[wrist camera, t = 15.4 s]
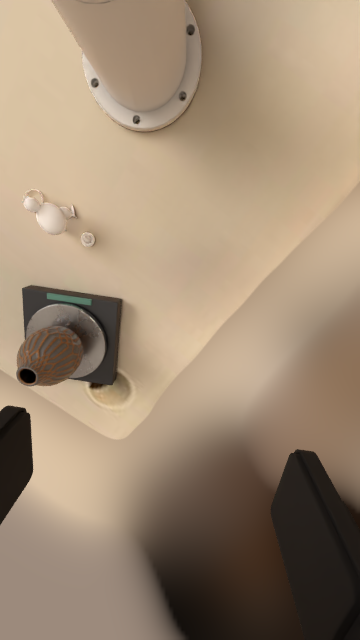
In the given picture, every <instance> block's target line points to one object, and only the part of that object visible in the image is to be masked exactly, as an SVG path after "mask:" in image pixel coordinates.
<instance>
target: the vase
mask: <svg viewBox="0 0 360 640" xmlns="http://www.w3.org/2000/svg"><path fill="white" fill-rule="evenodd" d="M82 358H83V344H82V342H81V340H80V338H79V337H78V335H77V334H76V333H75V332H73V331H72V330H70V329H68V328H66V327H62V326H49V327H45V328H42V329H40V330H38V331H36V332H34V333H33V334H31V335H30V336H29V337H28V338H27V339H26V340H25V341H24V342H23V344H22V345H21V347H20V349H19V351H18V355H17V366H18V370H17V373H16V375H17V379H18V380H19V381H20V382H21V383H22V384H23V385H26V386H34V385H40V386H51V385H55V384H58V383H60V382H62V381H64V380H66V379H68V378H69V377H70V376H71V375H72V374H73V373H74V372H75V371H76V370H77V368H78V367H79V365H80V363H81V361H82Z"/></svg>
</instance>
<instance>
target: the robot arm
mask: <svg viewBox="0 0 360 640" xmlns="http://www.w3.org/2000/svg"><path fill="white" fill-rule="evenodd" d="M51 1H52V3H53V4H54V6H55V8H56V9H57V11H58V12H59V14H60V16H61V17H62V19H63V21H64V22H65V24H66V25H67V27H68V29H69V30H70V32H71V33H72V35H73V37H74V38H75V40H76V42H77V43H78V45H79V46H80V48H81V50H82V64H83V68H84V73H85V78H86V80H87V83H88V86H89V89H90V91H91V93H92V94H93V96H94V98H95V100H96V102H97V103H98V104H99V106H100V107H101V108H102V110H103V111H104V112H105V113H106V114H107V115H108V116H109V117H110V118H111V119H112V120H114V121H115V122H116V123H118V124H119V125H121V126H123V127H125V128H128V129H130V130H135V131H140V132H145V131H154V130H158V129H161V128H163V127H165V126H167V125H169V124H171V123H172V122H173V121H175V120H176V119H177V118H178V117H180V115H181V114H182V113H183V112H184V111H185V110H186V108H187V107H188V105H189V103H190V102H191V100H192V98H193V96H194V94H195V91H196V89H197V86H198V82H199V77H200V73H201V62H202V49H201V39H200V34H199V29H198V26H197V23H196V20H195V17H194V15H193V13H192V11H191V9H190V8H189V6H188V4H187V2H186V1H185V0H51ZM189 34H192V35H191V36H189ZM97 85H99V86H98V87H97V88H96V86H97ZM181 98H185V101H181ZM137 121H140V123H139V124H136V122H137ZM32 473H33V458H32V439H31V420H30V414H29V413H27V412H26V409H25V408H21V407H14V406H6V407H4V408H3V409H2V410H1V411H0V524H1V523H2V521H3V520H4V518H5V517H6V515H7V514H8V512H9V511H10V509H11V508H12V506H13V505H14V503H15V502H16V500H17V499H18V497H19V496H20V494H21V493H22V491H23V490H24V488H25V487H26V485H27V483H28V482H29V480H30V478H31V476H32ZM271 517H272V521H273V525H274V528H275V532H276V536H277V539H278V543H279V546H280V550H281V554H282V558H283V561H284V565H285V569H286V572H287V576H288V580H289V583H290V587H291V591H292V594H293V598H294V601H295V605H296V609H297V613H298V616H299V620H300V624H301V627H302V631H303V635H304V638H305V640H360V529H359V528H358V526H357V524H356V522H355V521H354V519H353V517H352V515H351V513H350V512H349V510H348V508H347V506H346V505H345V503H344V502H343V501H342V500H341V498H340V496H339V495H338V493H337V491H336V489H335V487H334V486H333V484H332V482H331V480H330V478H329V477H328V475H327V473H326V471H325V469H324V467H323V466H322V464H321V462H320V460H319V458H318V456H317V455H316V453H314V452H311V451H305V450H298V449H297V450H296V451H295V452H294V453H291V454H290V455H289V458H288V461H287V463H286V466H285V469H284V472H283V474H282V477H281V480H280V483H279V486H278V488H277V491H276V494H275V497H274V500H273V502H272V505H271Z"/></svg>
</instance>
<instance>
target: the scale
mask: <svg viewBox="0 0 360 640" xmlns="http://www.w3.org/2000/svg"><path fill="white" fill-rule="evenodd" d="M22 294H23V312H24V330H25V340H26V331H27V326H28V323H29V321H30V319H31V318H32V317H33V315H34V314H35V313H36V312H37V311H39V310H40V309H42V308H44V307H46V306H48V305H51V304H56V303H68V304H73V305H76V306H79V307H81V308H83V309H85V310H86V311H88V312H89V313H90V314H92V315H93V316H94V317H95V318H96V319H97V321H98V322H99V323H100V325H101V326H102V328H103V330H104V333H105V336H106V341H107V349H106V354H105V357H104V359H103V361H102V362H101V364H100V365H99V366H98V368H97V369H96V370H94V371H93V372H92V373H90V374H88V375H86V376H83V377H78V378H68V379H74V380H81V381H87V382H94V383H100V384H107V385H113V383H114V381H115V379H116V370H117V356H118V342H119V328H120V314H121V300H122V299H118V298H111V297H105V296H98V295H92V294H85V293H78V292H72V291H65V290H58V289H52V288H45V287H39V286H32V285H30V286H27V287H24V288H22Z"/></svg>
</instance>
